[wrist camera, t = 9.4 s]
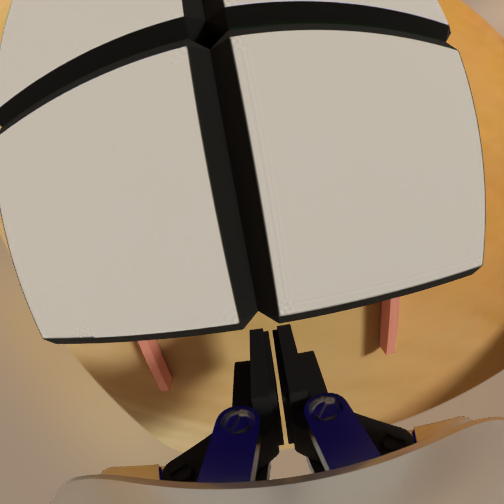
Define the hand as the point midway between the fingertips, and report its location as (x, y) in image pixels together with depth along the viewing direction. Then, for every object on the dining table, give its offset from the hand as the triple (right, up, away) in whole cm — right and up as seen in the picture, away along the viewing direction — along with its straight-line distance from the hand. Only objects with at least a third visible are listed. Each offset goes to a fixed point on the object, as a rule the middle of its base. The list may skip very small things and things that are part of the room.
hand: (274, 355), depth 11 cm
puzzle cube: (-2, +10, +2) cm, 11 cm away
